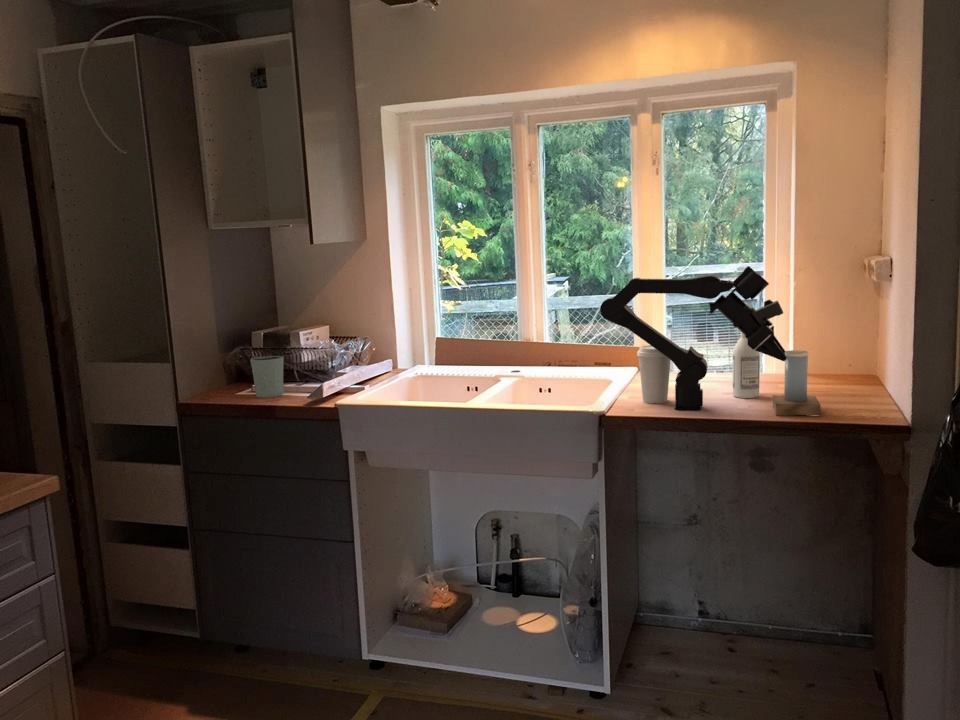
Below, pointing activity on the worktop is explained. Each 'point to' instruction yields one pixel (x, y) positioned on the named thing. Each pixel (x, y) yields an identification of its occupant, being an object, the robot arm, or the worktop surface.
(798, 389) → the canister
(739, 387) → the bath foam
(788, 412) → the base block
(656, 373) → the coffee cup
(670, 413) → the worktop surface
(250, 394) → the worktop surface
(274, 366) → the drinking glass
